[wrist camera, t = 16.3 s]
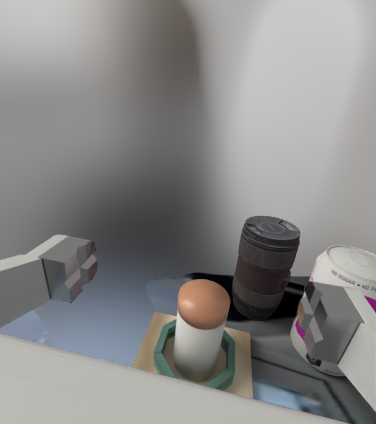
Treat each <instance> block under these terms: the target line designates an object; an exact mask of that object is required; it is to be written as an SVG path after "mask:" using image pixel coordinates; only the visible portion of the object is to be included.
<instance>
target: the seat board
mask: <svg viewBox="0 0 376 424" xmlns="http://www.w3.org/2000/svg"><path fill="white" fill-rule="evenodd" d="M176 321H177V317H176V316H172V315H167V314H163V313H158V312H155V313H154V316H153V318H152V321H151V323H150V325H149V328H148V330H147V332H146V335H145V337H144V339H143V342H142V344H141V347H140V349H139V351H138V354H137V356H136V359H135V361H134V363H133V366H132V367H133V368H137V369H141V370H144V371H148V372H152V373H156V374H160V375H164V376H168V377H171V378H175V379H179V380H183V381H187V382H191V383H195V384H198V385H202V386H206V387H210V388H214V389H218V390H221V391H225V392H229V393H233V394H237V395H241V396H245V397H248V398H252V399H253V385H252V366H251V347H250V333H248V332H244V331H239V330H235V329H230V328H226V327H224V331H223V336H222V341H221V345H220V350H219V354H218V359H217V364H216V368H215V370H214V372H213V374H212V375H211V376H210V377H209V378H207V379H206V380H203V381H198V382H195V381H190V380H187V379H185V378H184V377H182V376H181V375H180V374H179V373H178V372H177V370H176V368H175V366H174V363H173V352H174V341H175V331H176Z"/></svg>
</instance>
